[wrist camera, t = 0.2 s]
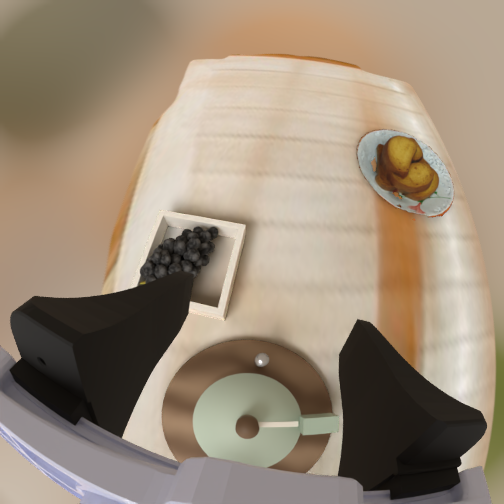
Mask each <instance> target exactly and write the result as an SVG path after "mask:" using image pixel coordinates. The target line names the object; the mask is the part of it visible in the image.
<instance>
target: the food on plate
mask: <svg viewBox="0 0 504 504" xmlns="http://www.w3.org/2000/svg"><path fill="white" fill-rule="evenodd" d="M357 153H358V154H357V159H358V160H359V168H361V172H362V173H363V174H364V177H365V179H366V180H368V181H369V183H370V184H371V186H372V187H373V188H374V190H375V191H377V193H378V195H379V196H380V197H382V198H384V200H385V201H387V202H388V203H389V204H391V205H392V206H394V207H395V208H400V209H402V210H406V211H408V212H413V213H416V214H422V215H428V217H436V216H438V215H439V216H443V214H444V213H445V212H447V211H448V210H449V208H450V206H451V204H452V202H453V199H454V186H453V182H452V179H451V176H450V173H449V172H448V170H447V168H446V166H445V164H444V163H443V162H442V160H441V159H440V158H439V156H438V155H437V154H436V153H435V152H434V151H433V150H432V149H431V148H430V146H427V145H426V144H424V143H423V142H422V141H419V140H417V139H416V138H414V137H413V136H411V135H409V134H406V133H403V132H399V131H395V130H387V129H381V130H374V131H372V132H369V133H367V134H365V136H363V137H361V139H360V141H359V145H358V149H357ZM374 157H376V164H377V167H376V171H375V172H374V171H373V168H372V165H371V161H372V160H374ZM394 192H398V193H399V196H401V197H402V198H403V199H399V198H398V197H395V196H394V194H392V193H394ZM399 204H400V205H401V207H398V206H397V205H399ZM413 220H415V219H413Z"/></svg>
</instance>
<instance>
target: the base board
mask: <svg viewBox="0 0 504 504" xmlns="http://www.w3.org/2000/svg"><path fill="white" fill-rule="evenodd" d="M259 353H265V354H267V355H268V356H269V362H268V364H267V365H265V366H263V367H258V366H256V364H255V362H254V360H255V358H256V356H257V355H258V354H259ZM240 373H253V374H260V375H264V376H267V377H270V378H272V379H274V380H276V381H278V382H279V383H281V384H282V385H283V386H285V387H286V388H287V389H288V390H289V391H290V392H291V393H292V395H293V396H294V398H295V399H296V401H297V403H298V405H299V408H300V412H301V415H307V414H322V413H332V405H331V400H330V397H329V393H328V391H327V389H326V386H325V384H324V382H323V381H322V379H321V378H320V376H319V374H318V373H317V372H316V371H315V370H314V368H313V367H312V366H311V365H310V364H309V363H307V362H306V361H305V360H304V359H303V358H301V357H300V356H299V355H297V354H296V353H294V352H292V351H290V350H288V349H286V348H284V347H282V346H279V345H276V344H273V343H269V342H265V341H258V340H236V341H229V342H225V343H220V344H217V345H215V346H212V347H209V348H207V349H205V350H203V351H201V352H200V353H198V354H197V355H195V356H194V357H192V358H191V359H190V360H189V361H187V362H186V363H185V364H184V365H183V366H182V367H181V368H180V369H179V371H178V372H177V373H176V374H175V376H174V377H173V379H172V381H171V382H170V384H169V386H168V389H167V391H166V394H165V397H164V400H163V407H162V425H163V432H164V435H165V439H166V441H167V444H168V446H169V448H170V450H171V452H172V453H173V455H174V457H175V458H176V460H177V461H178V462H180V463H182V462H184V461H185V460H186V459H188V458H192V457H209V456H208V455H207V454H206V453H205V452H204V451H203V449H202V448H201V447H200V445H199V443H198V441H197V439H196V437H195V434H194V429H193V413H194V409H195V406H196V404H197V402H198V400H199V398H200V396H201V395H202V394H203V393H204V391H205V390H206V389H207V388H208V387H209V386H211V385H212V384H213V383H215V382H216V381H218V380H220V379H222V378H225V377H227V376H230V375H234V374H240ZM235 430H236V433H237V434H238V436H240V437H241V438H244V439H251V438H254V437H255V436H256V435H257V434H258V432H259V424H258V421H257V419H256V418H255V417H254V416H252V415H243V416H241V417H239V418H238V420H237V422H236V427H235ZM330 434H331V433H326V434H314V435H302V434H301V433H300V436H299V438H298V441H297V443H296V445H295V446H294V448H293V449H292V450H291V452H290V453H289V454H288V455H287V456H286V457H285V458H283V459H282V460H281V461H279V462H278V463H276V464H274V465H272V466H269V467H267V468H270V469H276V470H282V471H289V472H297V473H306V472H307V471H308V470H309V469H311V468H312V466H313V465H314V464H315V463H316V462H317V461H318V459H319V458H320V456H321V455H322V453H323V452H324V449H325V447H326V445H327V443H328V440H329V437H330Z"/></svg>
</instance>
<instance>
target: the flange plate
mask: <svg viewBox="0 0 504 504" xmlns="http://www.w3.org/2000/svg"><path fill="white" fill-rule="evenodd" d="M243 415H252V416H254V417H255V418H256V419H257V421H258V424H259V432H258V434H257V435H256V436H255V437H254V438H251V439H244V438H241V437H240V436H238V434H237V433H236V430H235V427H236V422H237V420H238V418H239V417H241V416H243ZM193 429H194V434H195V437H196V439H197V441H198V443H199V445H200V447H201V448H202V449H203V451H204V452H205V453H206V454H207V455H208V456H209V457H214V458H220V459H226V460H232V461H236V462H241V463H245V464H250V465H254V466H259V467H265V468H267V467H269V466H272V465H274V464H276V463H278V462H279V461H281V460H282V459H283V458H285V457H286V456H287V455H288V454H289V453H290V452H291V450H292V449H293V448H294V446H295V445H296V443H297V441H298V438H299V436H300V433H301V434H302V435H314V434H326V433H335V432H338V431H339V416H338V415H336V414H333V413H322V414H307V415H301V412H300V408H299V405H298V403H297V401H296V399H295V398H294V396H293V395H292V393H291V392H290V391H289V390H288V389H287V388H286V387H285V386H283V385H282V384H281V383H279V382H278V381H276V380H274V379H272V378H270V377H267V376H264V375H260V374H253V373H240V374H234V375H230V376H227V377H225V378H222V379H220V380H218V381H216V382H215V383H213V384H212V385H211V386H209V387H208V388H207V389H206V390H205V391H204V393H203V394H202V395H201V396H200V398H199V400H198V402H197V404H196V406H195V409H194V413H193Z"/></svg>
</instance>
